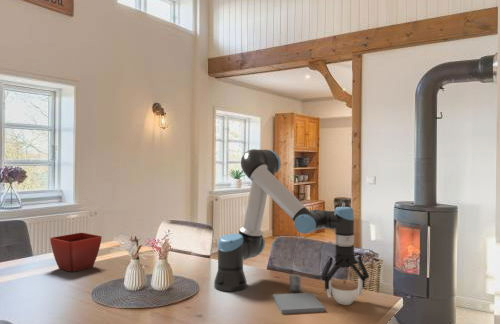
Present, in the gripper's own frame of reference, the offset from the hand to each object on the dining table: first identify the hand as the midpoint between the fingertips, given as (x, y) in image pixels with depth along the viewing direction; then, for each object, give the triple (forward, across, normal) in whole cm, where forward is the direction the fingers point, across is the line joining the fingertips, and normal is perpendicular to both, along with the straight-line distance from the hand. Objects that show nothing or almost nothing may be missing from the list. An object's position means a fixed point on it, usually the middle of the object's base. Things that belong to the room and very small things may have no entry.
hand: (344, 295), depth 159 cm
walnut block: (+3, 0, +13) cm, 13 cm away
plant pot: (+2, -125, +67) cm, 142 cm away
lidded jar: (+3, 0, 0) cm, 3 cm away
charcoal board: (+2, -20, 0) cm, 20 cm away
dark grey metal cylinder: (+2, -17, +15) cm, 23 cm away
